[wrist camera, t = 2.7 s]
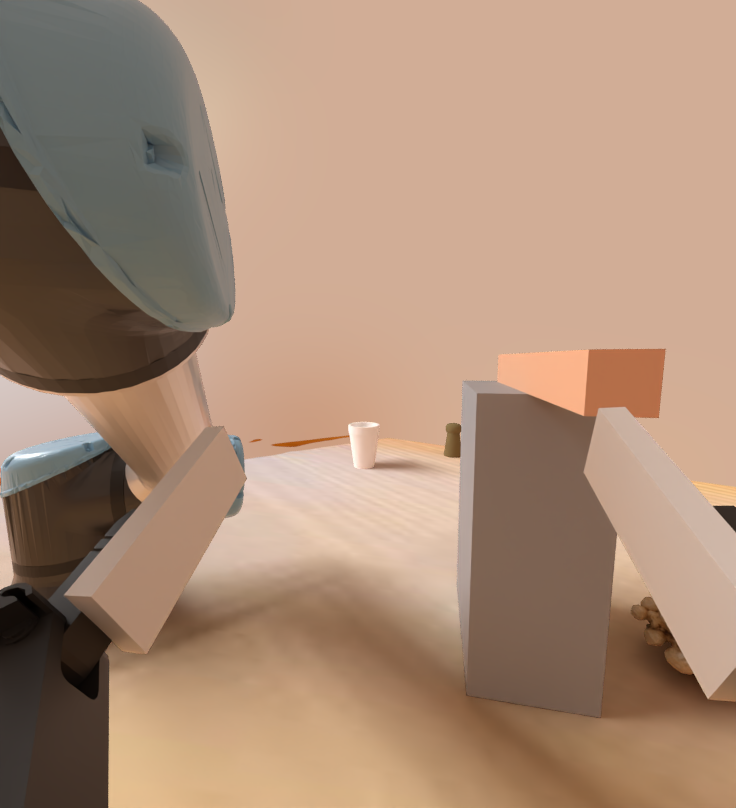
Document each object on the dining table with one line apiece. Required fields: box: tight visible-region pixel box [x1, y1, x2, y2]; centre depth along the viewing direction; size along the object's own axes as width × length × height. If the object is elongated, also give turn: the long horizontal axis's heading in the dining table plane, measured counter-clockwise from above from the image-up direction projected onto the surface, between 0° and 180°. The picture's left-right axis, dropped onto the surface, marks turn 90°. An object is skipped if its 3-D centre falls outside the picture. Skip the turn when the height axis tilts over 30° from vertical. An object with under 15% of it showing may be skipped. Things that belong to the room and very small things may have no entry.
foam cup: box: [349, 422, 379, 469], centre depth 110 cm, size 10×9×13 cm
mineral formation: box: [631, 597, 693, 675], centre depth 38 cm, size 8×13×15 cm
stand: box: [457, 381, 617, 718], centre depth 41 cm, size 18×12×30 cm, turn 169°
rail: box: [497, 349, 665, 418], centre depth 32 cm, size 28×4×4 cm, turn 169°
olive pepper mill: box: [444, 423, 461, 457], centre depth 122 cm, size 6×6×11 cm
